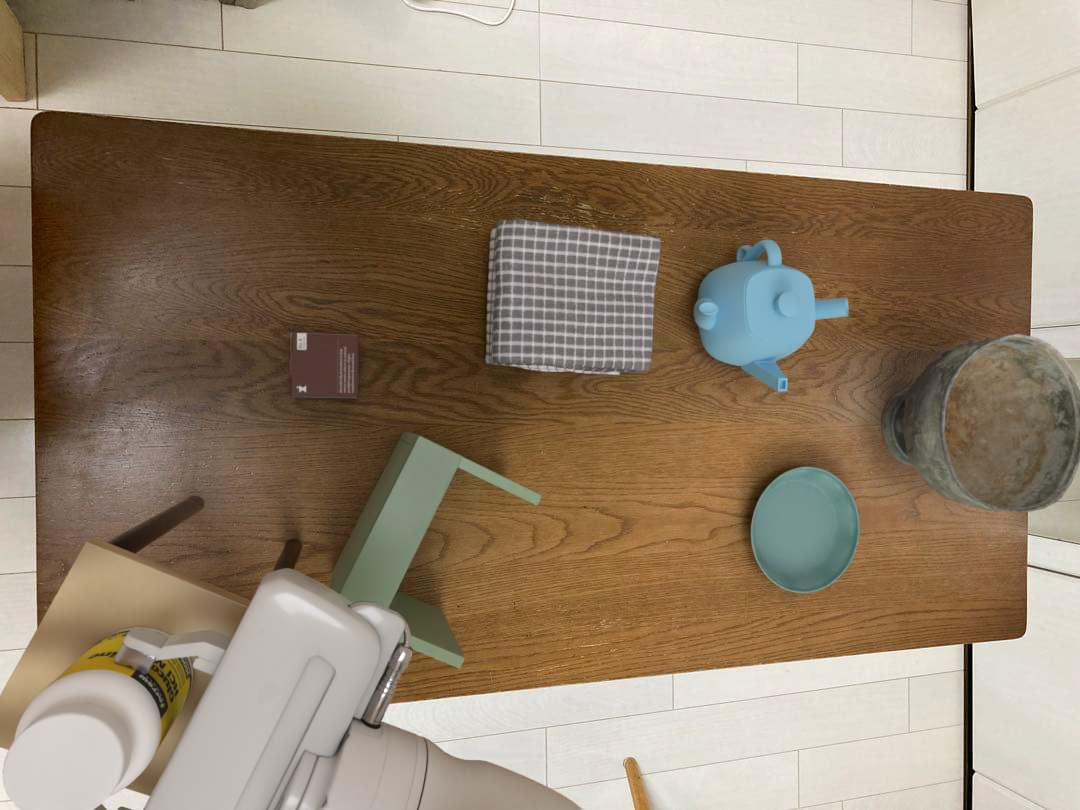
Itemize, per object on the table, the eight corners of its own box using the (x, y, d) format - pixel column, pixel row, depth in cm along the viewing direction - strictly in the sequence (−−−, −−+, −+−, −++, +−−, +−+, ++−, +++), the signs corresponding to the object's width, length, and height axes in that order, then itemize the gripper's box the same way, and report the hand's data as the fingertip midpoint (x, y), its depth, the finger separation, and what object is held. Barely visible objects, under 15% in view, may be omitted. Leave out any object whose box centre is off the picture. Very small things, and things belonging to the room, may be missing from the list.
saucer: (752, 603, 84) (765, 609, 81) (727, 482, 83) (739, 484, 80) (855, 568, 87) (871, 573, 85) (832, 452, 87) (847, 453, 84)
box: (357, 401, 72) (358, 400, 65) (294, 400, 70) (288, 398, 63) (358, 341, 72) (359, 333, 65) (296, 339, 70) (290, 330, 63)
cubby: (438, 618, 74) (463, 675, 58) (331, 573, 71) (326, 619, 55) (505, 479, 76) (547, 497, 60) (403, 430, 73) (419, 435, 57)
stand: (191, 795, 43) (186, 808, 42) (-12, 728, 41) (-26, 739, 39) (284, 613, 45) (282, 620, 44) (94, 536, 42) (85, 541, 41)
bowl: (982, 357, 93) (1099, 347, 78) (968, 505, 92) (1084, 522, 77) (855, 334, 88) (955, 318, 73) (839, 490, 87) (937, 505, 72)
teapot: (729, 407, 83) (787, 406, 72) (652, 321, 81) (700, 307, 70) (808, 318, 86) (876, 304, 75) (736, 233, 84) (795, 205, 73)
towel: (484, 229, 76) (499, 208, 68) (643, 243, 80) (674, 225, 73) (481, 371, 75) (496, 366, 68) (641, 376, 80) (672, 373, 73)
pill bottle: (217, 654, 43) (172, 735, 32) (155, 748, 42) (88, 864, 31) (120, 604, 41) (40, 671, 31) (53, 700, 40) (-53, 804, 30)
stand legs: (248, 651, 69) (190, 791, 43) (130, 605, 66) (-7, 726, 41) (305, 541, 71) (280, 615, 45) (191, 492, 68) (96, 541, 42)
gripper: (434, 642, 37) (173, 534, 34) (244, 1036, 34) (-58, 960, 31) (421, 609, 43) (199, 515, 40) (259, 942, 40) (8, 870, 37)
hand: (85, 713), depth 35 cm, fingers closed on pill bottle, 6 cm apart
